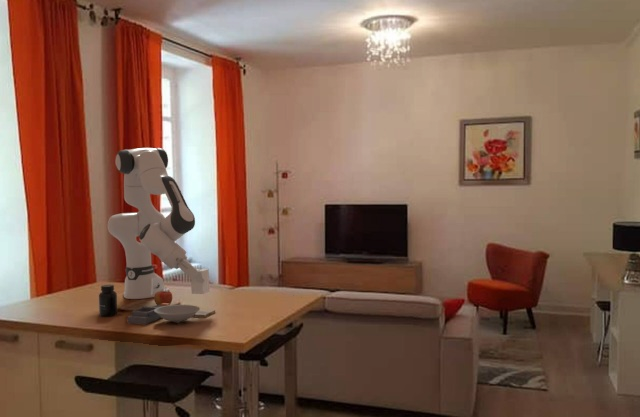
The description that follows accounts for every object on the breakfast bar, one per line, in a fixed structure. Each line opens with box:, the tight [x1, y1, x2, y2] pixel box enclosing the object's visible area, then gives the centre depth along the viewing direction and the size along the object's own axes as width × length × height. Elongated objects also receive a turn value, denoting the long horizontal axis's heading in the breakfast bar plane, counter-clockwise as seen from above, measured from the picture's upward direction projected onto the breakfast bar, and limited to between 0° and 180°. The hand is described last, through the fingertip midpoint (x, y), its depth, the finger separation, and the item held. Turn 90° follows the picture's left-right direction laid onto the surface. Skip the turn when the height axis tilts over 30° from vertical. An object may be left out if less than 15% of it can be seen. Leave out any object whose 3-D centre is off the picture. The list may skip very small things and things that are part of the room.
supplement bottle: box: [98, 284, 118, 318], centre depth 219 cm, size 7×7×12 cm
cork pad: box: [191, 308, 216, 319], centre depth 216 cm, size 8×8×1 cm
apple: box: [153, 287, 173, 306], centre depth 229 cm, size 7×7×8 cm
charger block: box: [190, 268, 210, 295], centre depth 215 cm, size 5×5×9 cm
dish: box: [154, 304, 201, 324], centre depth 205 cm, size 18×14×5 cm
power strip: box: [127, 303, 171, 325], centre depth 217 cm, size 26×8×4 cm, turn 162°
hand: (201, 280), depth 215 cm, fingers closed on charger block, 7 cm apart
